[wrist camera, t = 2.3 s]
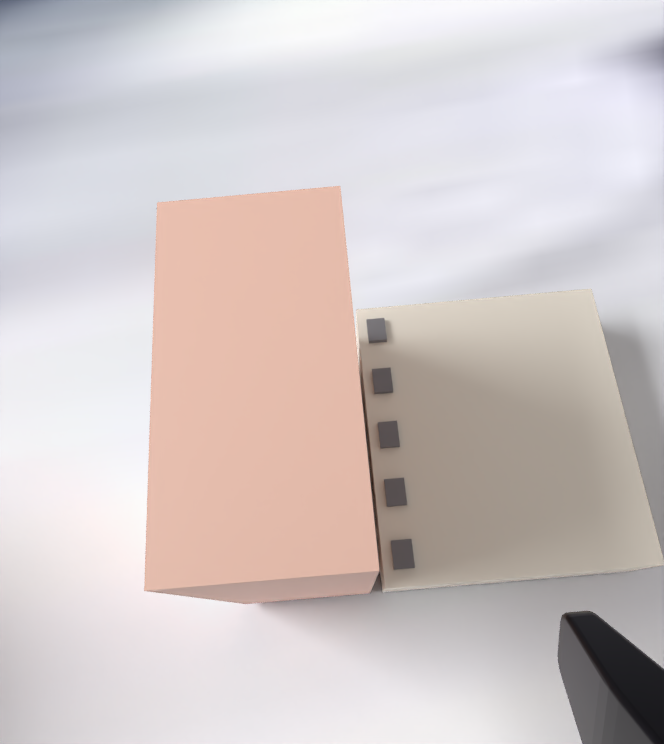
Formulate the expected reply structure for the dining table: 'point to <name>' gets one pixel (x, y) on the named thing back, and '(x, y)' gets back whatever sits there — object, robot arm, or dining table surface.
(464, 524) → the board
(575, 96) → the dining table surface
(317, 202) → the pink rectangular block
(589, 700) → the robot arm
